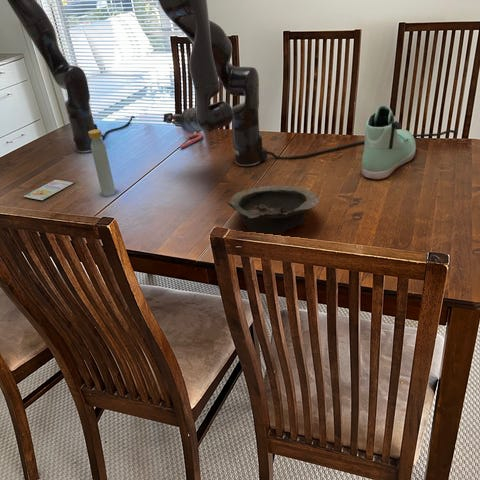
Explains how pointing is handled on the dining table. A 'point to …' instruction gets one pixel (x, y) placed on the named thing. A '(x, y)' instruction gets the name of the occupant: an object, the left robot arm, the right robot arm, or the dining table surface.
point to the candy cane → (199, 136)
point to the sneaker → (385, 145)
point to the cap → (95, 134)
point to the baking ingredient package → (48, 189)
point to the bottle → (102, 167)
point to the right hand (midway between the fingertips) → (179, 122)
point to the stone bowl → (273, 207)
